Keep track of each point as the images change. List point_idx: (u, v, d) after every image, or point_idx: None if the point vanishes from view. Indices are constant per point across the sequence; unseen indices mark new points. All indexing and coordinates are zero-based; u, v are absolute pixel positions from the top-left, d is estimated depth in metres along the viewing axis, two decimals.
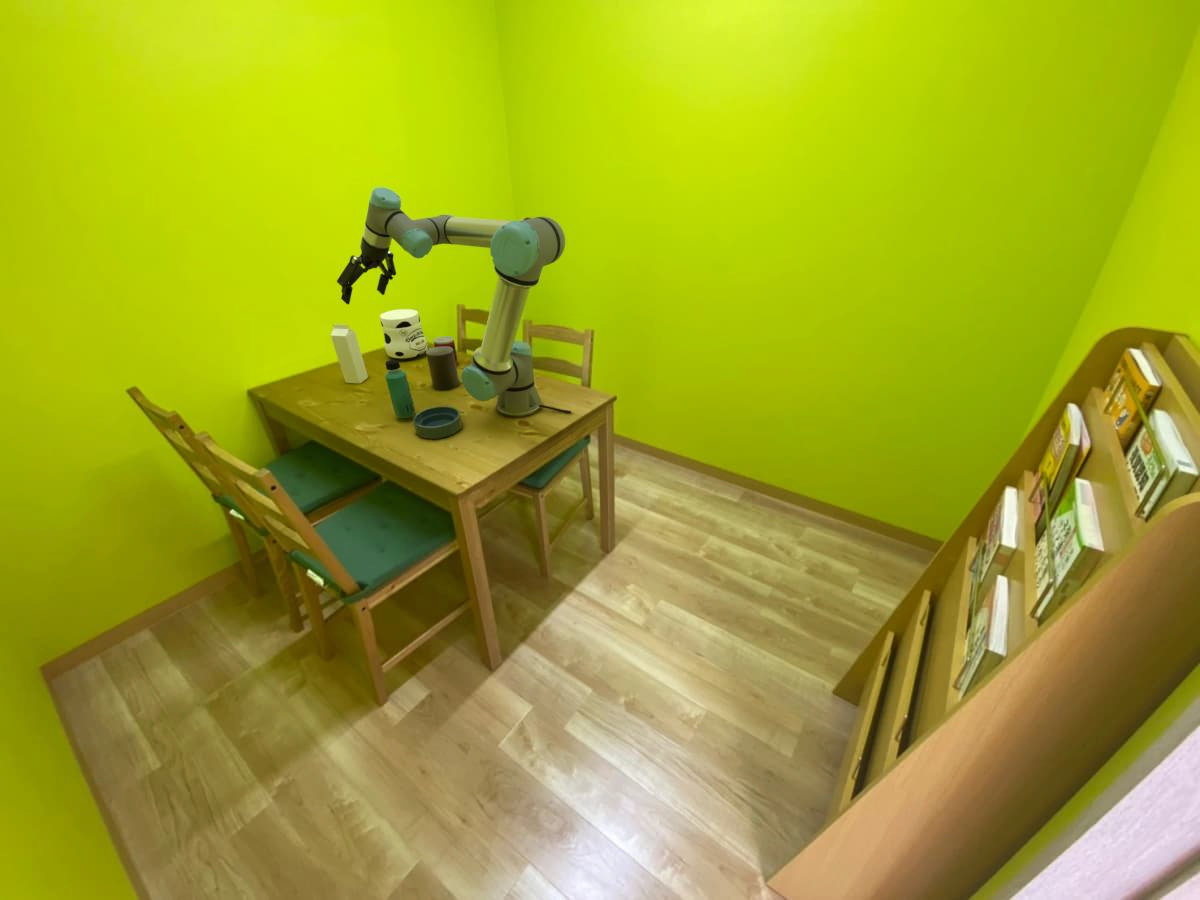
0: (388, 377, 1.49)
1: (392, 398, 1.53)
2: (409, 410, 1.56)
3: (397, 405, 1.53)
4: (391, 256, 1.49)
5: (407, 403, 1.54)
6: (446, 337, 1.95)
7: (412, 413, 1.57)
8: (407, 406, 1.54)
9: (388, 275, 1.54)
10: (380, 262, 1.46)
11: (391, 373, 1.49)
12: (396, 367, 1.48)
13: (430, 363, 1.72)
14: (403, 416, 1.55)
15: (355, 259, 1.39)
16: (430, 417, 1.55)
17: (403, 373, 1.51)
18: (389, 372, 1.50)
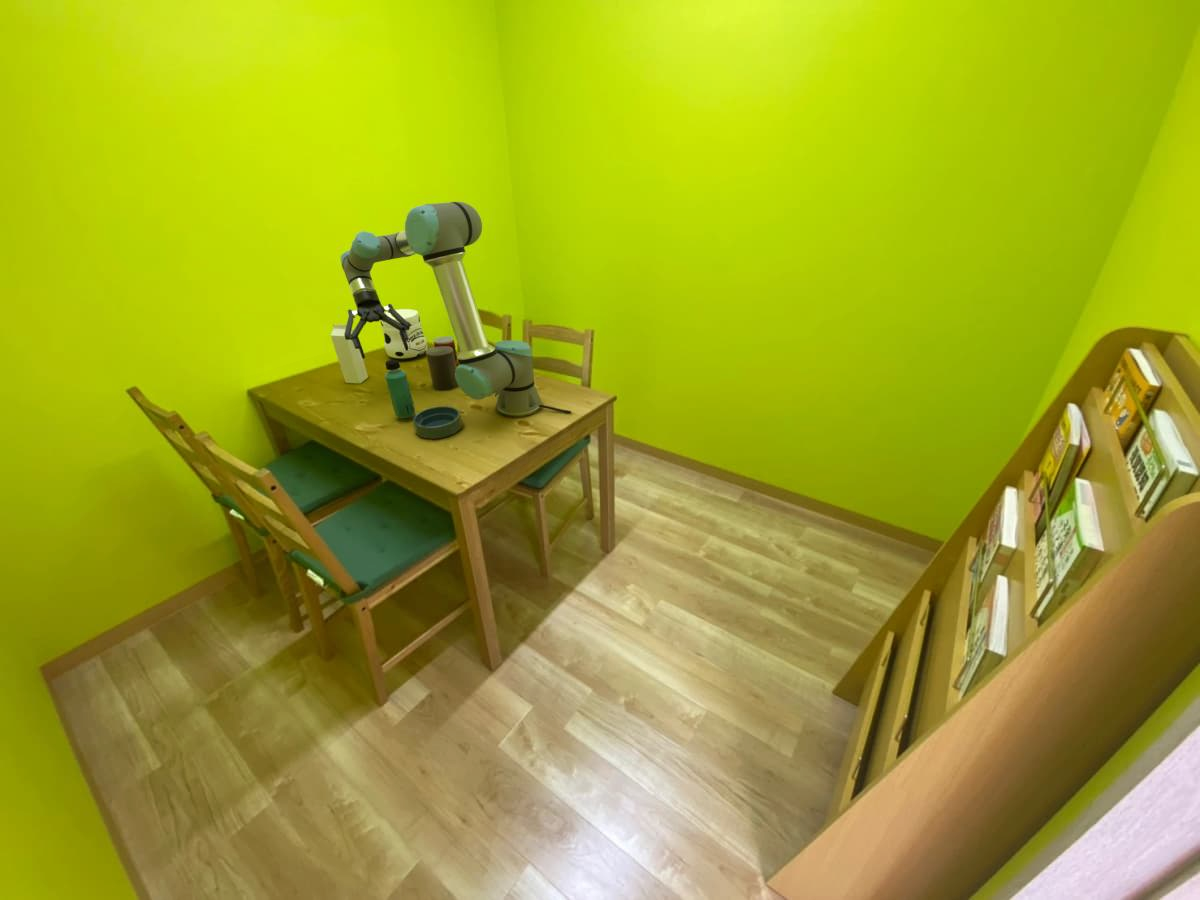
0: (388, 377, 1.49)
1: (392, 398, 1.53)
2: (409, 410, 1.56)
3: (397, 405, 1.53)
4: (389, 306, 1.60)
5: (407, 403, 1.54)
6: (446, 337, 1.95)
7: (412, 413, 1.57)
8: (407, 406, 1.54)
9: (399, 325, 1.59)
10: (375, 308, 1.57)
11: (391, 373, 1.49)
12: (396, 367, 1.48)
13: (430, 363, 1.72)
14: (403, 416, 1.55)
15: None
16: (430, 417, 1.55)
17: (403, 373, 1.51)
18: (389, 372, 1.50)
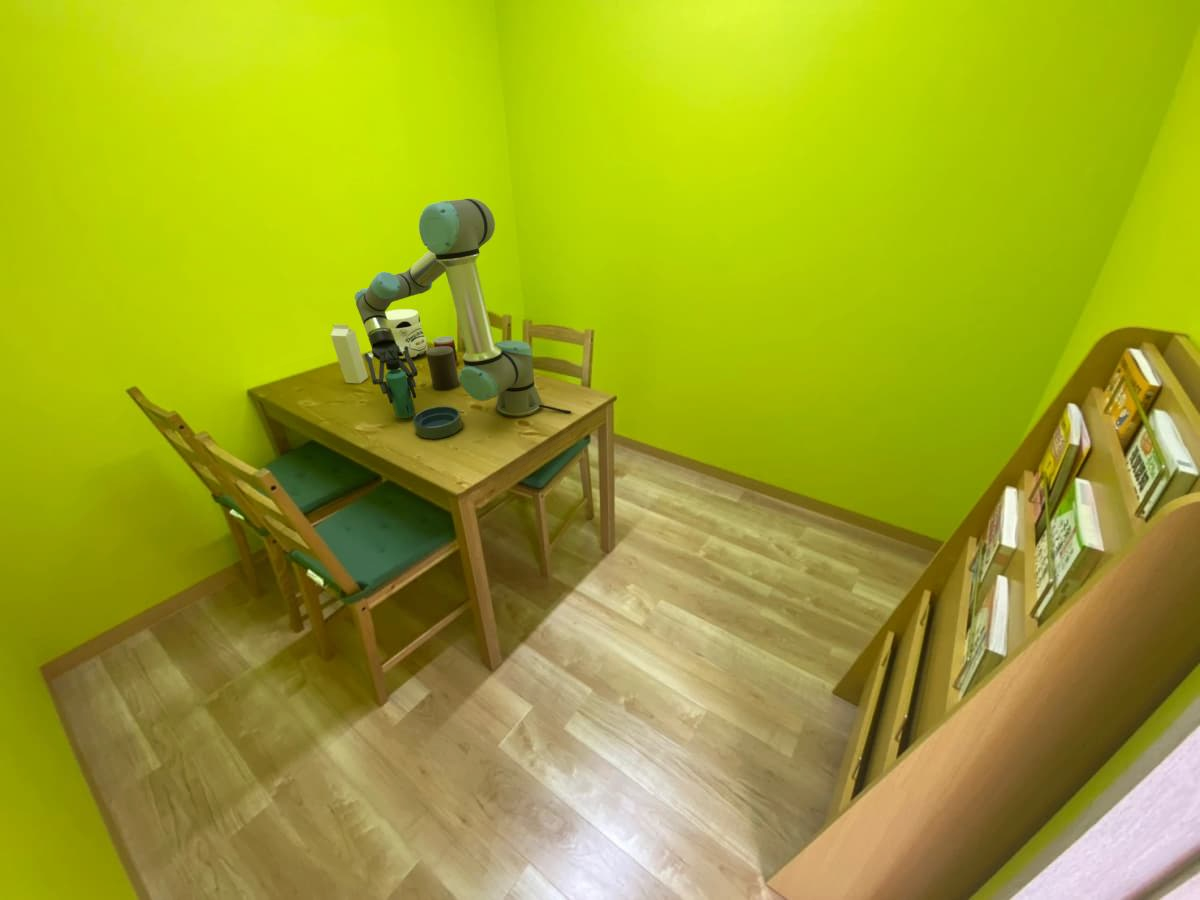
0: (388, 377, 1.49)
1: (392, 398, 1.53)
2: (409, 410, 1.56)
3: (397, 405, 1.53)
4: (405, 348, 1.56)
5: (407, 403, 1.54)
6: (446, 337, 1.95)
7: (412, 413, 1.57)
8: (407, 406, 1.54)
9: (408, 371, 1.54)
10: (390, 349, 1.53)
11: (391, 373, 1.49)
12: (396, 367, 1.48)
13: (430, 363, 1.72)
14: (403, 416, 1.55)
15: None
16: (430, 417, 1.55)
17: (403, 373, 1.51)
18: (389, 372, 1.50)
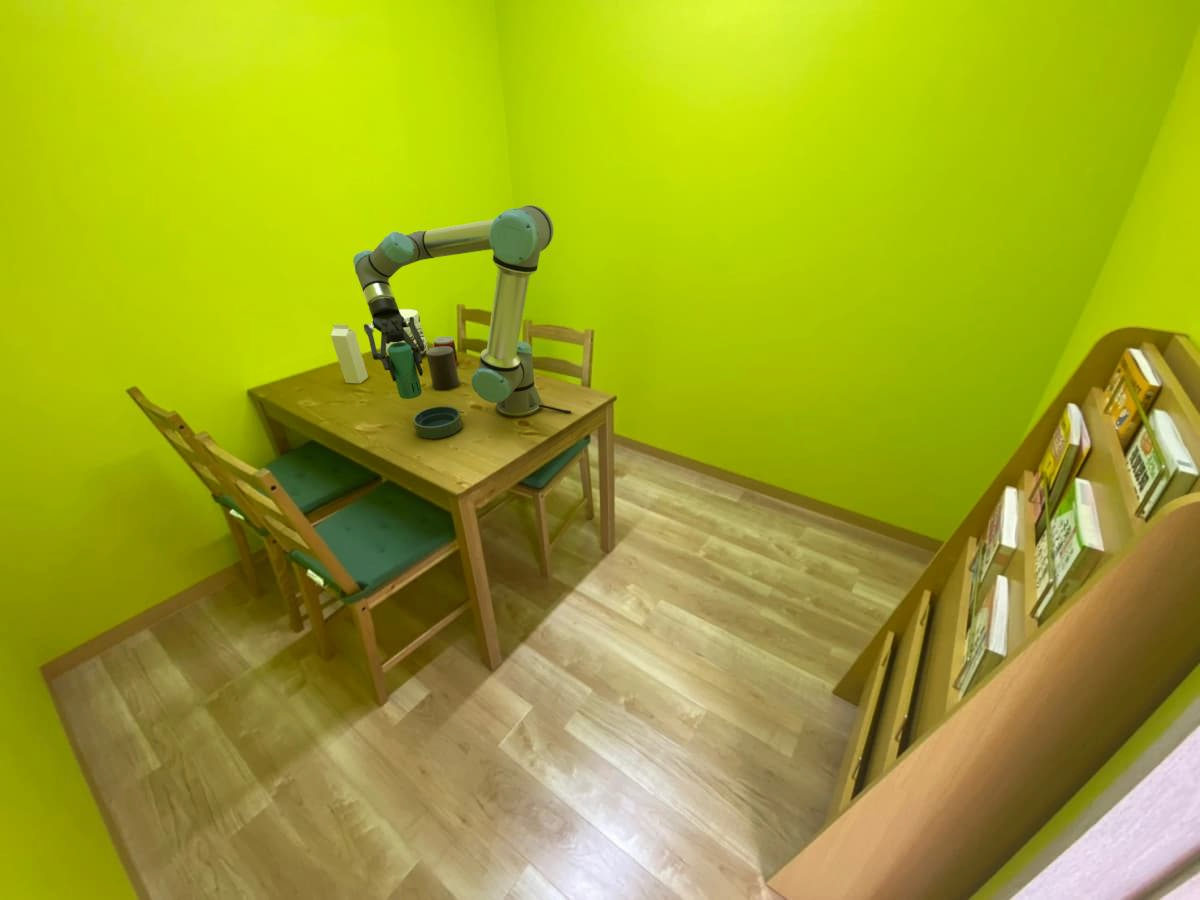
0: (391, 351, 1.29)
1: (396, 375, 1.33)
2: (415, 390, 1.36)
3: (401, 384, 1.34)
4: (411, 319, 1.36)
5: (413, 381, 1.35)
6: (446, 337, 1.95)
7: (418, 393, 1.37)
8: (413, 385, 1.35)
9: (413, 345, 1.34)
10: (394, 319, 1.34)
11: (394, 346, 1.30)
12: (400, 339, 1.29)
13: (430, 363, 1.72)
14: (408, 396, 1.36)
15: (364, 327, 1.32)
16: (430, 417, 1.55)
17: (408, 346, 1.31)
18: (392, 345, 1.30)
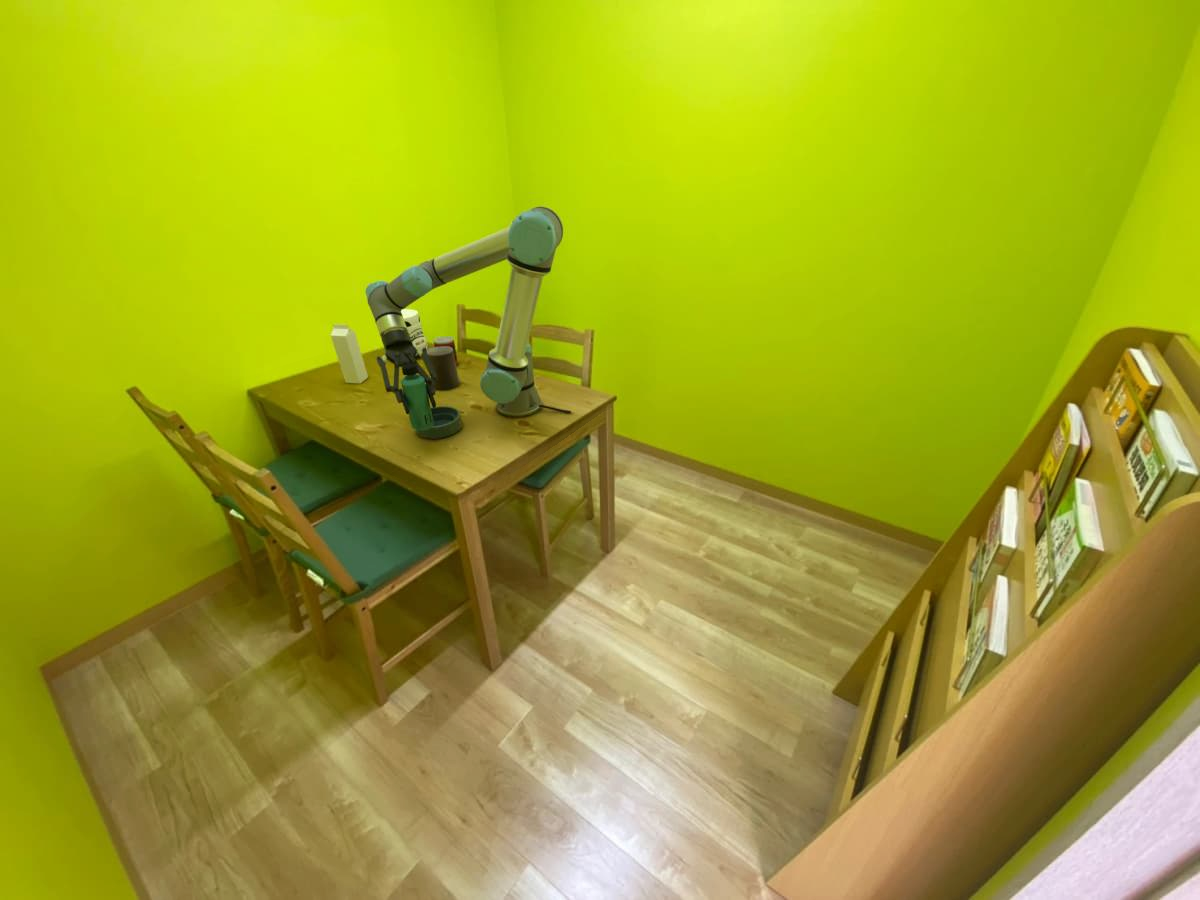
0: (405, 384, 1.28)
1: None
2: (428, 422, 1.35)
3: (414, 416, 1.33)
4: (423, 350, 1.35)
5: (426, 413, 1.34)
6: (446, 337, 1.95)
7: (431, 425, 1.36)
8: (426, 417, 1.34)
9: (426, 377, 1.33)
10: (407, 351, 1.33)
11: (408, 379, 1.29)
12: (414, 372, 1.28)
13: None
14: (421, 428, 1.35)
15: None
16: None
17: (422, 379, 1.30)
18: (406, 378, 1.29)
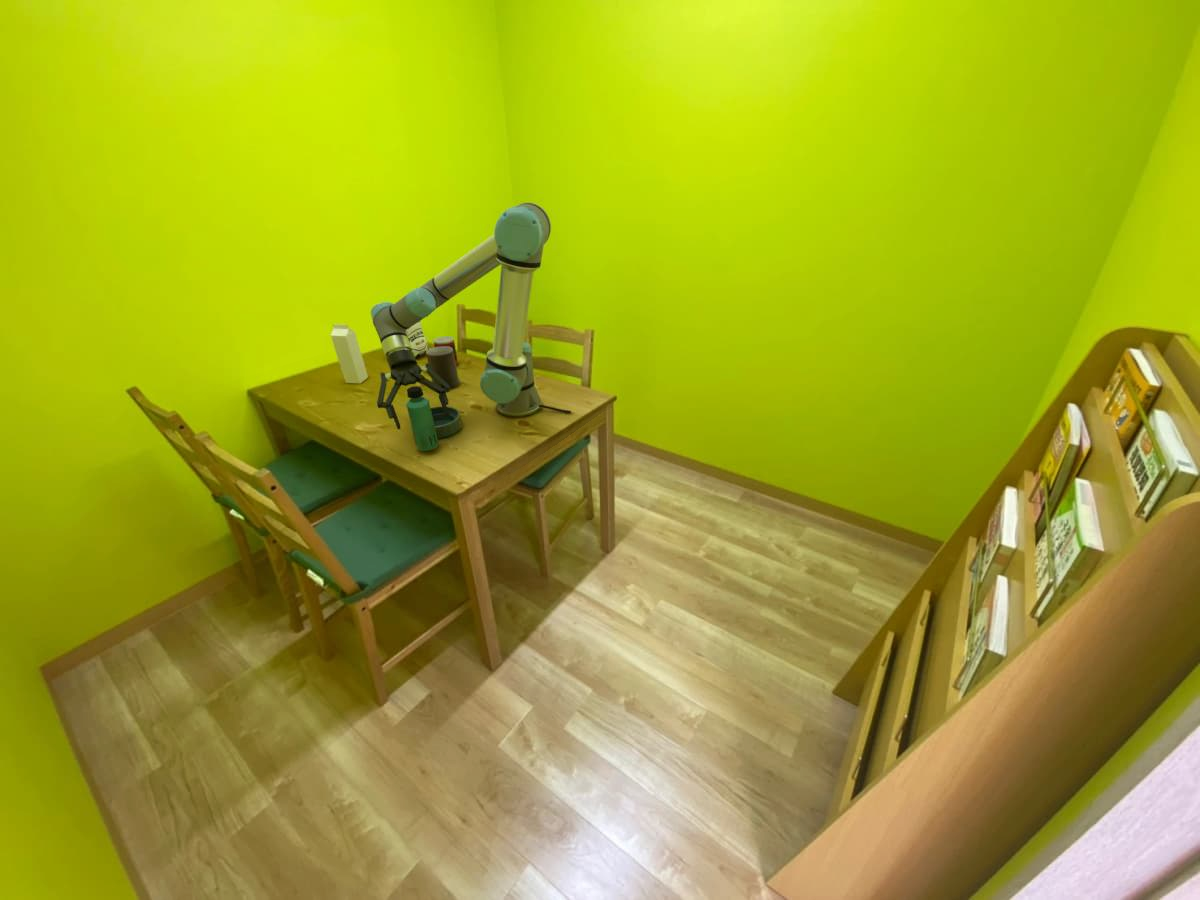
0: (410, 406, 1.32)
1: (414, 429, 1.36)
2: (433, 442, 1.39)
3: (419, 437, 1.36)
4: (427, 365, 1.39)
5: (430, 434, 1.37)
6: (446, 337, 1.95)
7: (435, 445, 1.40)
8: (430, 437, 1.37)
9: (439, 388, 1.38)
10: (411, 370, 1.36)
11: (413, 401, 1.32)
12: (419, 395, 1.31)
13: (430, 363, 1.72)
14: (426, 448, 1.38)
15: None
16: None
17: (426, 401, 1.34)
18: (411, 400, 1.33)
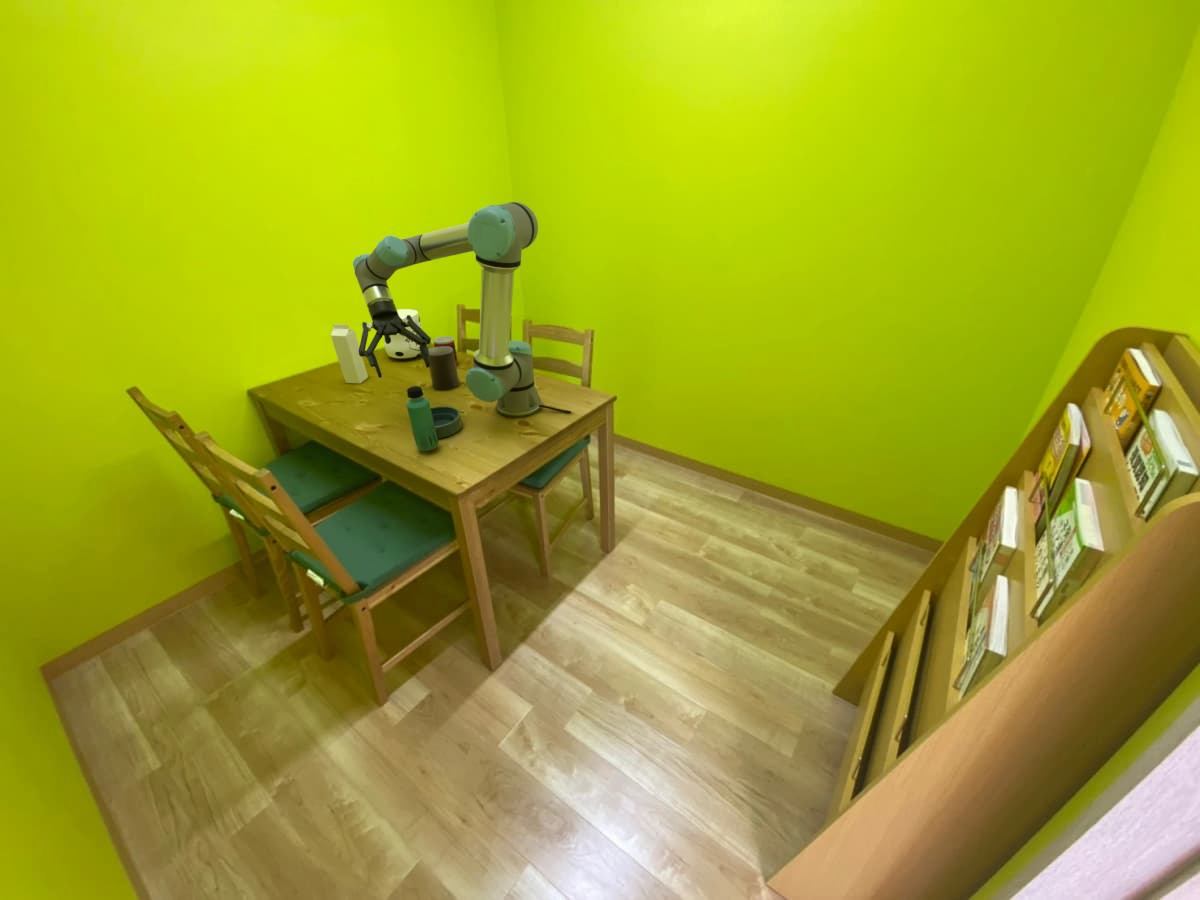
0: (410, 406, 1.32)
1: (414, 429, 1.36)
2: (433, 442, 1.39)
3: (419, 437, 1.36)
4: (408, 317, 1.42)
5: (430, 434, 1.37)
6: (446, 337, 1.95)
7: (435, 445, 1.40)
8: (430, 437, 1.37)
9: (419, 340, 1.42)
10: (392, 321, 1.40)
11: (413, 401, 1.32)
12: (419, 395, 1.31)
13: (430, 363, 1.72)
14: (426, 448, 1.38)
15: None
16: None
17: (426, 401, 1.34)
18: (411, 400, 1.33)
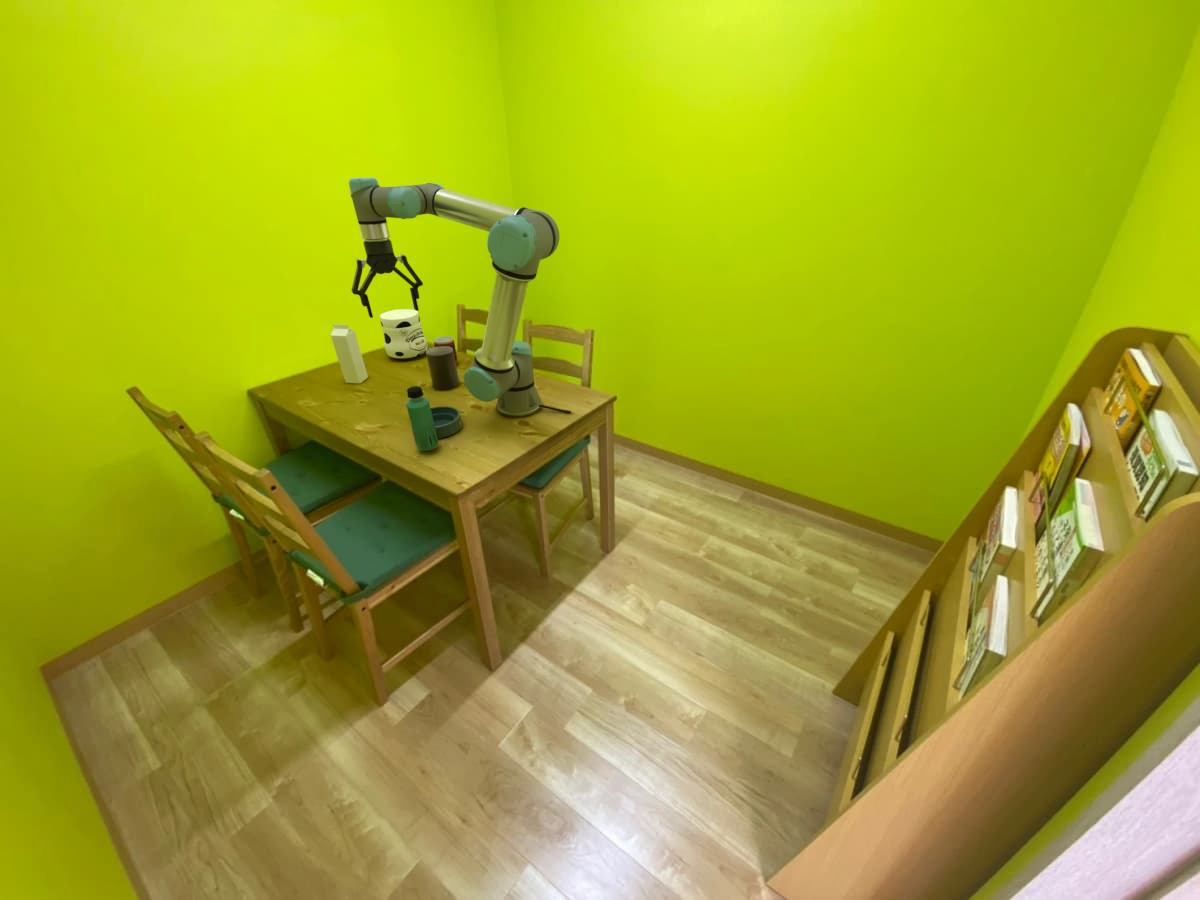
0: (410, 406, 1.32)
1: (414, 429, 1.36)
2: (433, 442, 1.39)
3: (419, 437, 1.36)
4: (403, 258, 1.42)
5: (430, 434, 1.37)
6: (446, 337, 1.95)
7: (435, 445, 1.40)
8: (430, 437, 1.37)
9: (412, 284, 1.46)
10: (388, 263, 1.40)
11: (413, 401, 1.32)
12: (419, 395, 1.31)
13: (430, 363, 1.72)
14: (426, 448, 1.38)
15: (357, 260, 1.37)
16: None
17: (426, 401, 1.34)
18: (411, 400, 1.33)
